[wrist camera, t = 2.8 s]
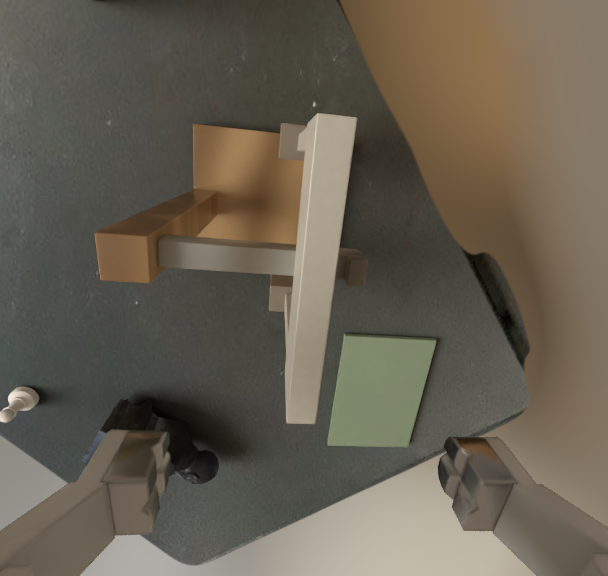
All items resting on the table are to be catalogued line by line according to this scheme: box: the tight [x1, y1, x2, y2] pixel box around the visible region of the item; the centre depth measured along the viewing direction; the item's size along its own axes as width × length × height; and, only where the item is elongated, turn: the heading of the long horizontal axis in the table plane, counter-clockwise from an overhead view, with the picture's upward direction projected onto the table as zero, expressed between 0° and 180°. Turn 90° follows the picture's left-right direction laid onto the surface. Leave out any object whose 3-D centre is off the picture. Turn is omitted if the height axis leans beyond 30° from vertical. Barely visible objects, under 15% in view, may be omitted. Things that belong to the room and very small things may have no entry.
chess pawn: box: [0, 387, 39, 422], centre depth 35 cm, size 3×3×4 cm
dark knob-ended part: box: [81, 399, 219, 484], centre depth 36 cm, size 6×13×6 cm, turn 55°
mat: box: [327, 333, 436, 447], centre depth 39 cm, size 10×15×1 cm, turn 174°
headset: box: [269, 113, 357, 424], centre depth 19 cm, size 3×12×16 cm, turn 175°
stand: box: [95, 124, 368, 286], centre depth 22 cm, size 12×12×18 cm
